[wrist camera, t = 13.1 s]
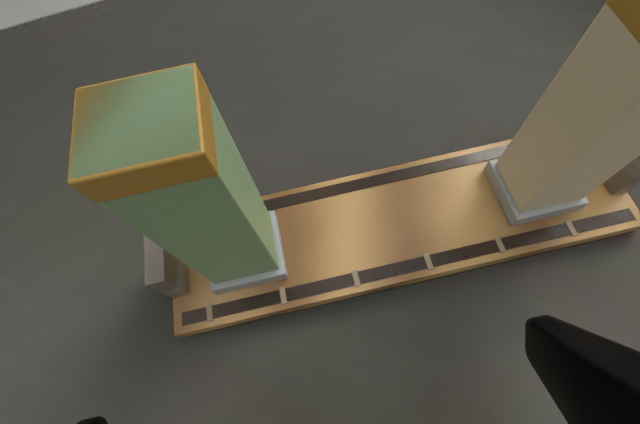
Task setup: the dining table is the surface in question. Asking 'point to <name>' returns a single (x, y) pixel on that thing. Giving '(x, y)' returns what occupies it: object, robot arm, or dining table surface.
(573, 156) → the cream marker
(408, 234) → the score rail
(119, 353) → the dining table surface
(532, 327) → the robot arm
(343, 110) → the dining table surface
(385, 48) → the dining table surface
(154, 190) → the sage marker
